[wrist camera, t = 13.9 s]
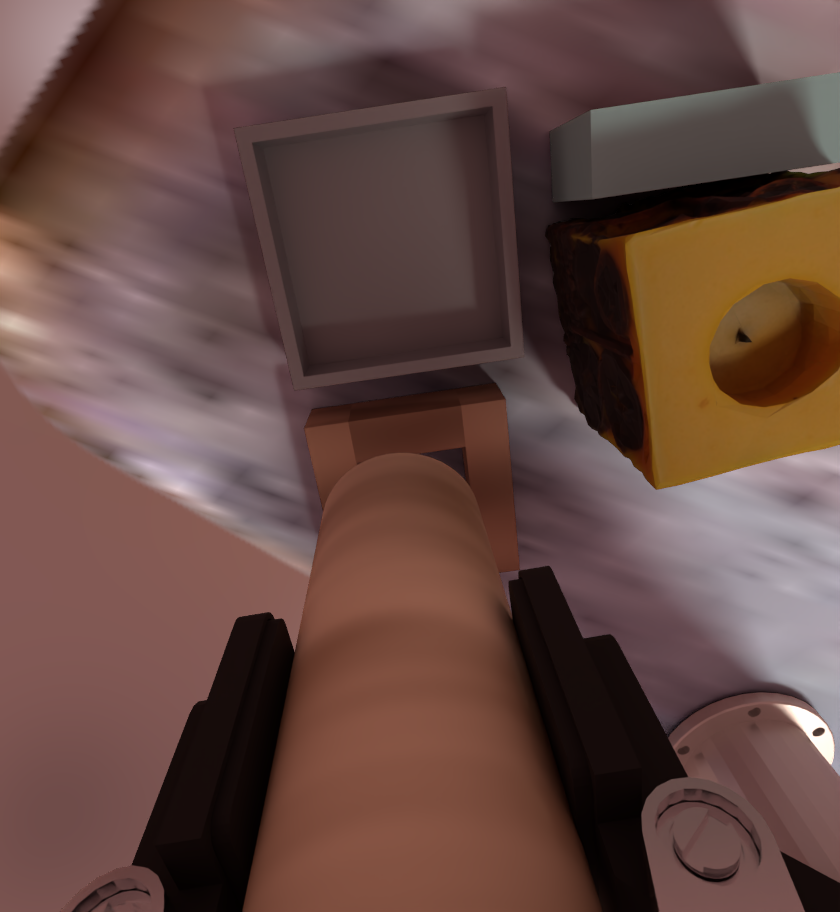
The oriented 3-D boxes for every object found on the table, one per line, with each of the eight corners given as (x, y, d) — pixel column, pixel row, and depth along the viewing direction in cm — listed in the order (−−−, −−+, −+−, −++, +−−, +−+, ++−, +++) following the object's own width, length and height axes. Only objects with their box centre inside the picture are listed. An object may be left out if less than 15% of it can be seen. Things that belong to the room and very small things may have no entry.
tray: (513, 344, 30) (524, 357, 28) (302, 375, 31) (294, 390, 28) (494, 99, 26) (506, 86, 23) (249, 136, 26) (233, 128, 24)
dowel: (488, 576, 15) (738, 1484, 5) (340, 600, 16) (234, 1558, 5) (469, 439, 14) (789, 1334, 3) (305, 468, 14) (7, 1451, 3)
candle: (541, 225, 28) (613, 231, 19) (748, 166, 28) (925, 143, 18) (573, 416, 32) (645, 497, 23) (755, 368, 32) (904, 432, 22)
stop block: (760, 171, 28) (852, 160, 22) (552, 202, 28) (592, 199, 22) (766, 98, 26) (865, 68, 21) (549, 131, 27) (590, 109, 21)
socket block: (509, 541, 35) (519, 569, 32) (346, 564, 35) (342, 594, 32) (495, 382, 31) (505, 399, 28) (312, 409, 31) (303, 428, 29)
